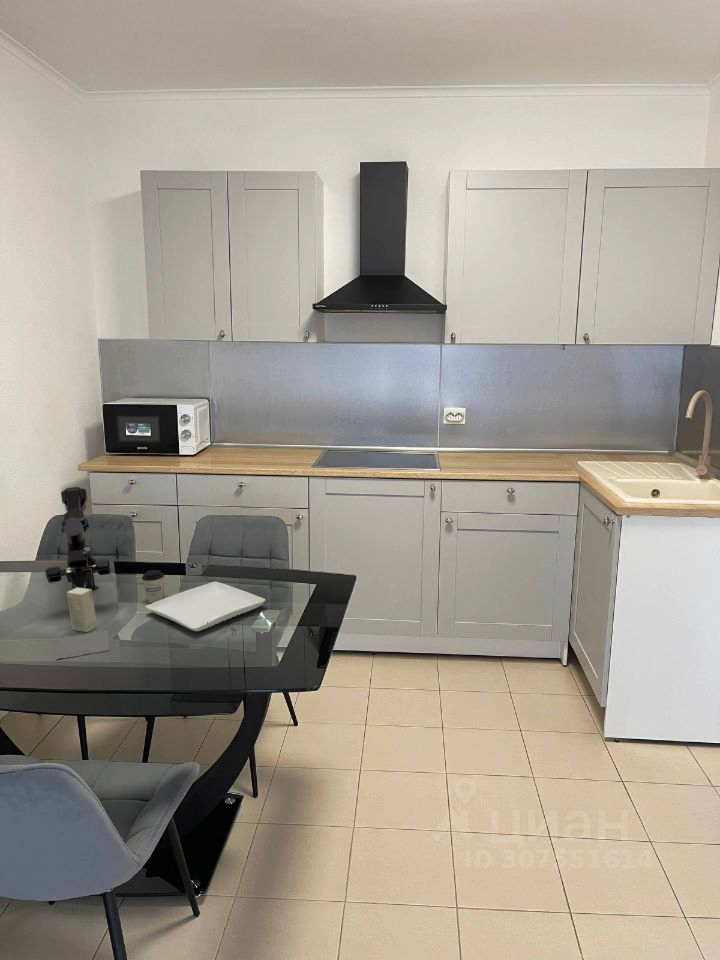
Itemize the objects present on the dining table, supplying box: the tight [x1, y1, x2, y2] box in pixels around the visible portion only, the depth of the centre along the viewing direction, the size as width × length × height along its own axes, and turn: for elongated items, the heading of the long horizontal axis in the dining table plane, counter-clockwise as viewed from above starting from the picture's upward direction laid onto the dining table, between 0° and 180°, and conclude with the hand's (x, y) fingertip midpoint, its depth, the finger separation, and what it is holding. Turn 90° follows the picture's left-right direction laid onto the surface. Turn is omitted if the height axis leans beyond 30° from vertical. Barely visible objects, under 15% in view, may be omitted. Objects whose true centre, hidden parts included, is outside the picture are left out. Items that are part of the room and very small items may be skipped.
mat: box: [56, 629, 110, 653], centre depth 210 cm, size 14×14×1 cm
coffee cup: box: [141, 569, 165, 604], centre depth 238 cm, size 7×7×10 cm
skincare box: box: [66, 587, 98, 633], centre depth 220 cm, size 6×4×12 cm
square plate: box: [144, 581, 267, 632], centre depth 230 cm, size 27×27×4 cm
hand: (81, 595), depth 227 cm, fingers closed
